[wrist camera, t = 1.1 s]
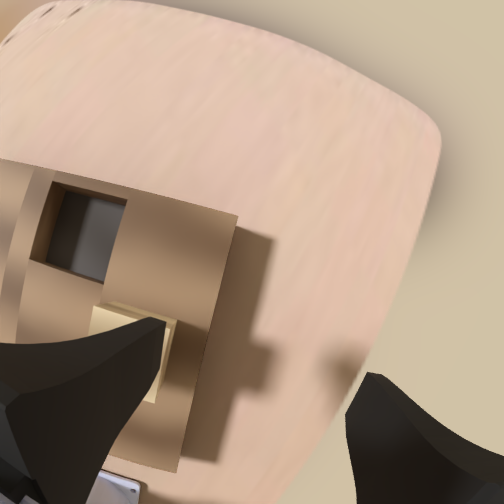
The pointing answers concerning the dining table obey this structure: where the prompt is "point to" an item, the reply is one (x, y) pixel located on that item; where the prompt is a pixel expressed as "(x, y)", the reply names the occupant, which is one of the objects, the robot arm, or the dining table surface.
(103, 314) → the maple block
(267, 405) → the dining table surface
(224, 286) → the dining table surface
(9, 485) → the robot arm
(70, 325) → the trap board
